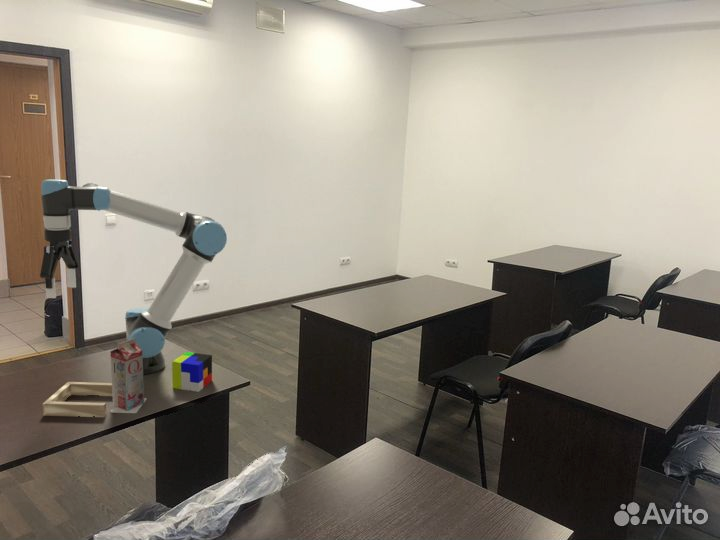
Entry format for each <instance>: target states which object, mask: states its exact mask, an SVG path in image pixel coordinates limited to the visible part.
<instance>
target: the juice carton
mask: <svg viewBox="0 0 720 540" xmlns="http://www.w3.org/2000/svg"><path fill="white" fill-rule="evenodd" d="M110 371H111V383H112V396H111V397H112V407H113V408H114V407H117V408H120V409H122V410H125V411H129V410H131V409H133V408H135V407H137V406H139V405H142V404H143V405H144V404H145V402H144V398H145V395H144V394H145V393H144V392H145V388H144V374H143V355H142V349H141V348H140V347H139V346H138V345H137V344H136V343H135V338H133V339H130V340H127V339H126V340H125V341H122V342H119V343H118V342H117V344H116V348H115V349H113V350H111V351H110ZM143 405H142V406H143Z"/></svg>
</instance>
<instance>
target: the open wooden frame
mask: <svg viewBox="0 0 720 540" xmlns="http://www.w3.org/2000/svg"><path fill="white" fill-rule="evenodd" d="M87 395H99V396H100V397H113V396H112V382H85V381H84V382H82V381H79V382H78V381H67V382H66V383H65V384H64V385H63V386H61V387H60V388H59V389H58V390H56V392H54V393H53V394H52V395H50V397H48V398H47V399H46V400H45V401H44V402H43V403H42V412H43V417H45V416H46V417H50V416H51V417H78V416H80V417H81V418H82V417H83V418H85V417H86V418H105V417H106V416H107V403H106V402H86V401H85V402H80V401H78V402H77V401H75V402H74V401H66V400H68V399H69V398H70V397H71V396H87ZM69 396H70V397H69ZM99 396H98V397H99ZM68 397H69V398H68ZM67 398H68V399H67ZM93 416H95V417H93Z"/></svg>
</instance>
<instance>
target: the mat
mask: <svg viewBox="0 0 720 540" xmlns="http://www.w3.org/2000/svg"><path fill="white" fill-rule="evenodd" d="M146 401H147V397H144V403H145V402H146ZM143 405H144V404H142V405H139V406H137V407H135V408H133V409H131V410H129V411H125V410H122V409H120V408H117V407H114V406H113V408H112V409H111V410H110V411H109V412H110V413H113V414H114V413H116V414H119V413H120V414H137V412H139V410H140V409H141V407H142V406H143Z"/></svg>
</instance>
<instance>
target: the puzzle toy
mask: <svg viewBox="0 0 720 540" xmlns="http://www.w3.org/2000/svg"><path fill="white" fill-rule="evenodd" d="M171 366H172V373H171V374H172V389H179V390H183V391H190V390H191V391H192V392H197V393H199V392H200V391H202V390H203V389H204V388H205V387H206V386H207V385H209V384H210V383H211V382H212V381H213V355H212V354H205V353H197V352H191V351H185V352H184V353H183V354H182V355H180V356H179V357H177V358H175V359H173V361H172V365H171ZM208 383H209V384H208Z"/></svg>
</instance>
